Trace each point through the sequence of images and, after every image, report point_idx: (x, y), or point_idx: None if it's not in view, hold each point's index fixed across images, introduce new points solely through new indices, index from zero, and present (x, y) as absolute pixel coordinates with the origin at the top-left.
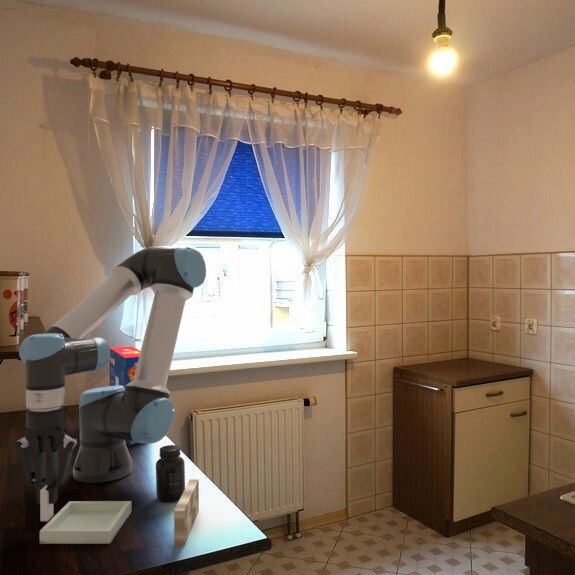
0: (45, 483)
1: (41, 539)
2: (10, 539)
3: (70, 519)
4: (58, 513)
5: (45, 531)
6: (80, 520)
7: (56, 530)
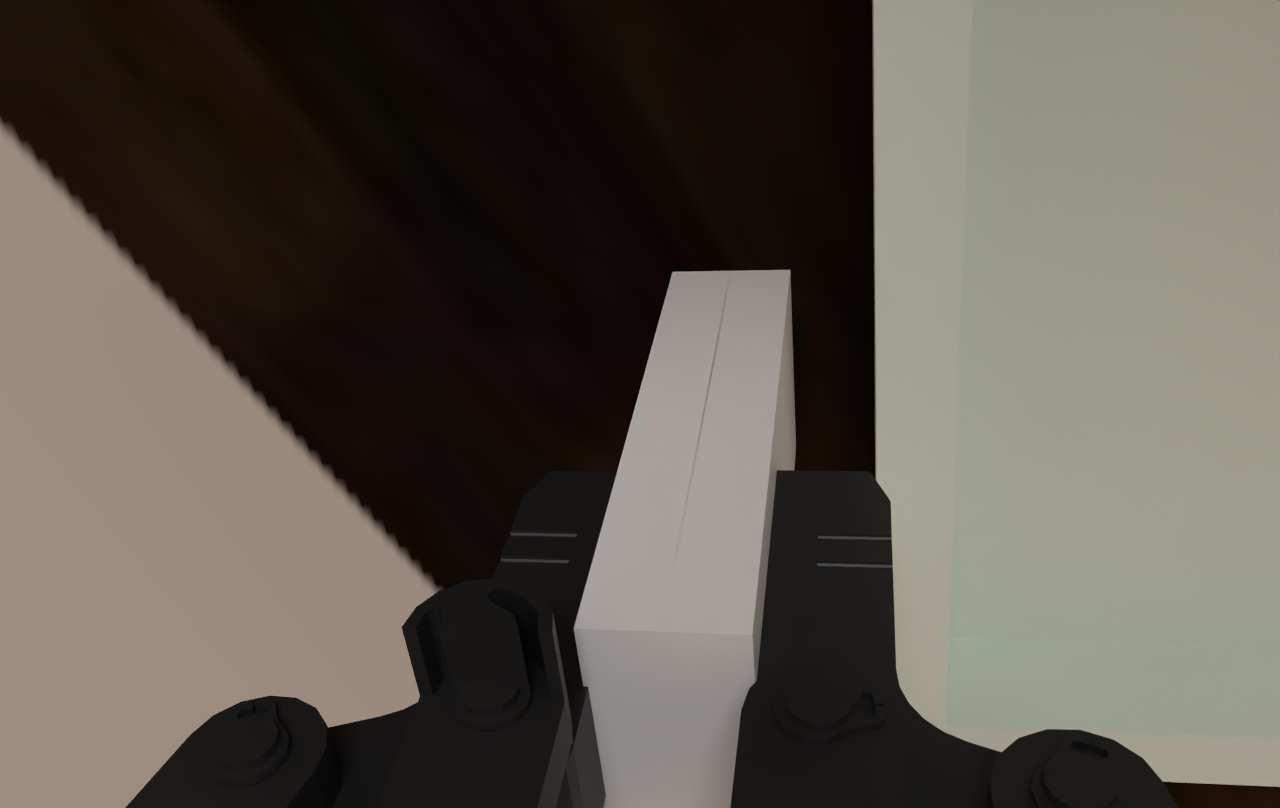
0: (568, 708)
1: None
2: (479, 567)
3: (1057, 155)
4: (899, 331)
5: None
6: (1254, 183)
7: None
